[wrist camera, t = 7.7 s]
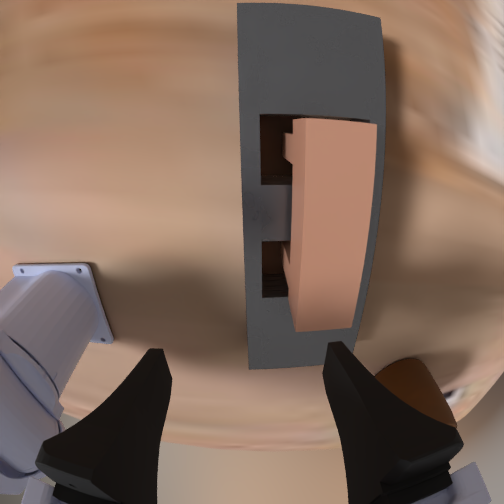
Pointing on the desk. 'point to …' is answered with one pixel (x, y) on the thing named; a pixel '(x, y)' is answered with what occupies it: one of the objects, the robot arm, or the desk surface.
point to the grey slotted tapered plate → (280, 186)
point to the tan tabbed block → (328, 219)
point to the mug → (417, 389)
